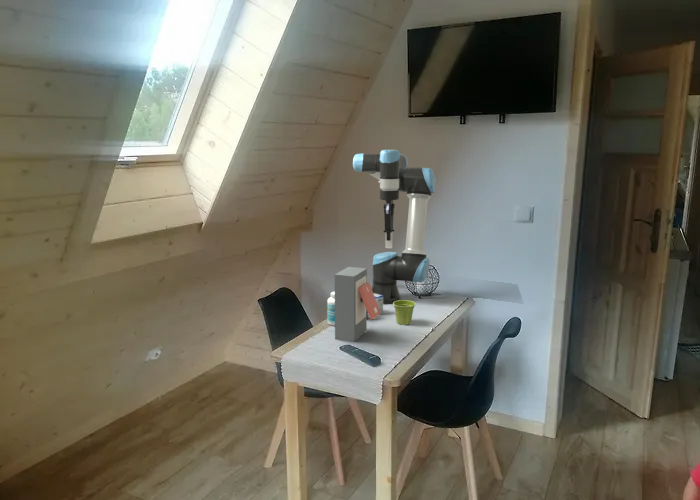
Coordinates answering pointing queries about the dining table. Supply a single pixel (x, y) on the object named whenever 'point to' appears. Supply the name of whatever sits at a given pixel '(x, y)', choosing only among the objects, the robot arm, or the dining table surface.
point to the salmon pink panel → (369, 300)
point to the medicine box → (379, 301)
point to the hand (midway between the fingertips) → (388, 247)
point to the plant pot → (404, 311)
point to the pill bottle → (331, 309)
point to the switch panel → (350, 304)
